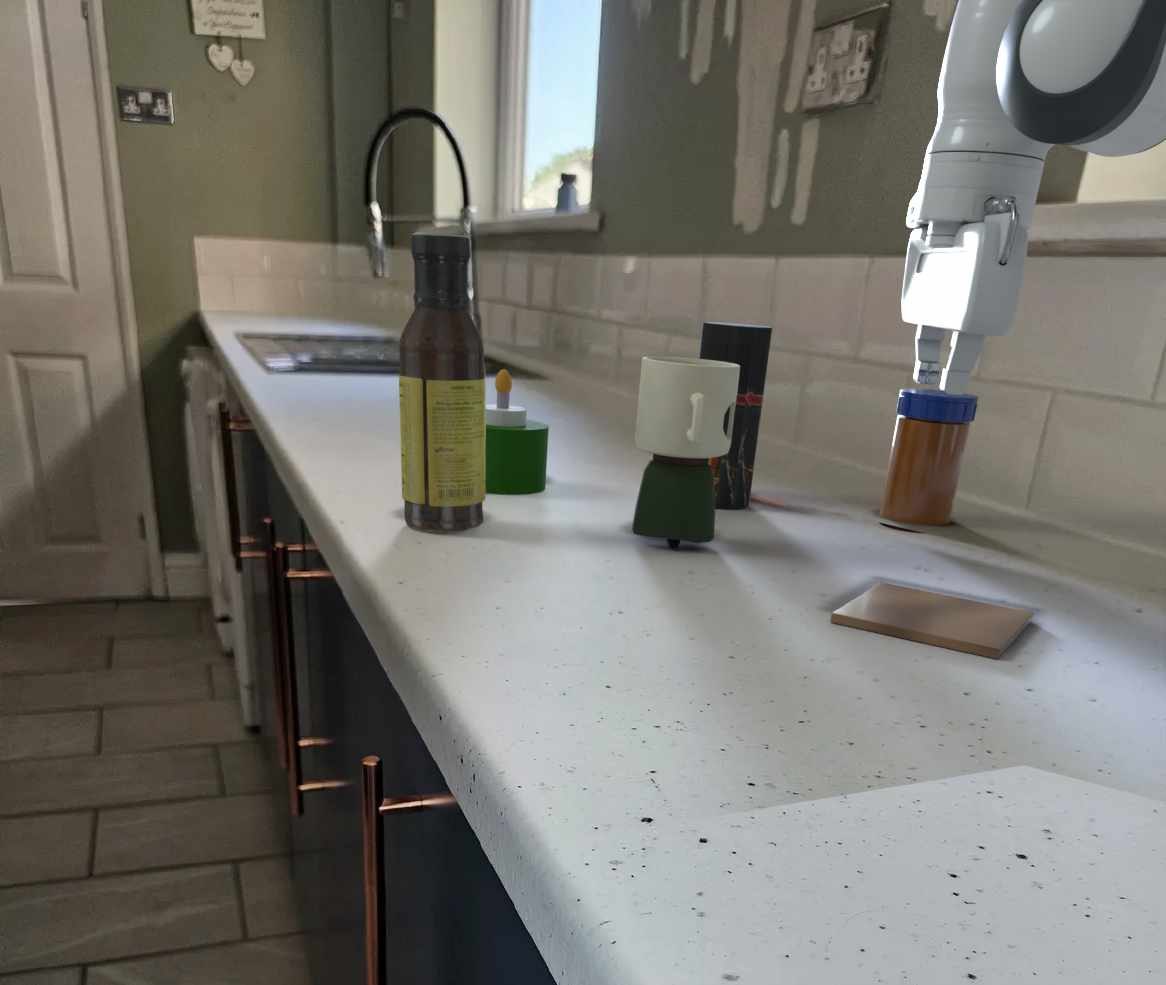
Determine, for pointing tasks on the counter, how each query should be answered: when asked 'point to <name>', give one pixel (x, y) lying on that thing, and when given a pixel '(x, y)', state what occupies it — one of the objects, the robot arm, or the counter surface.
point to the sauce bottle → (442, 392)
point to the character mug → (682, 444)
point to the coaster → (935, 619)
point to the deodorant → (739, 404)
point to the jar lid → (936, 405)
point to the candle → (513, 446)
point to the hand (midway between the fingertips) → (937, 388)
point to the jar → (923, 471)
